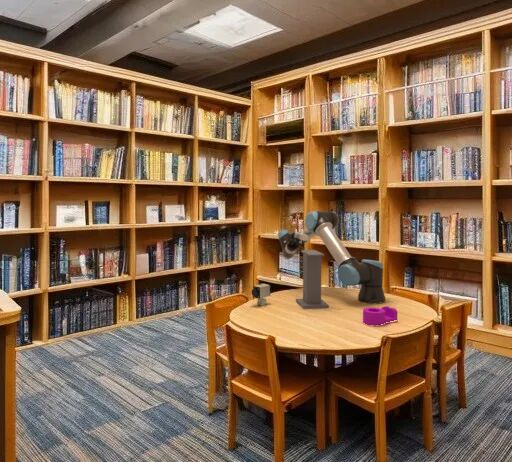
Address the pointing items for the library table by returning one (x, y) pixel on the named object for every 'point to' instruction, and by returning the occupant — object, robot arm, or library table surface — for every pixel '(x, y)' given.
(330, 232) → the robot arm
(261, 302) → the grey camera
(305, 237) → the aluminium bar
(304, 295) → the stand
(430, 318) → the library table surface
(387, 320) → the tape dispenser
